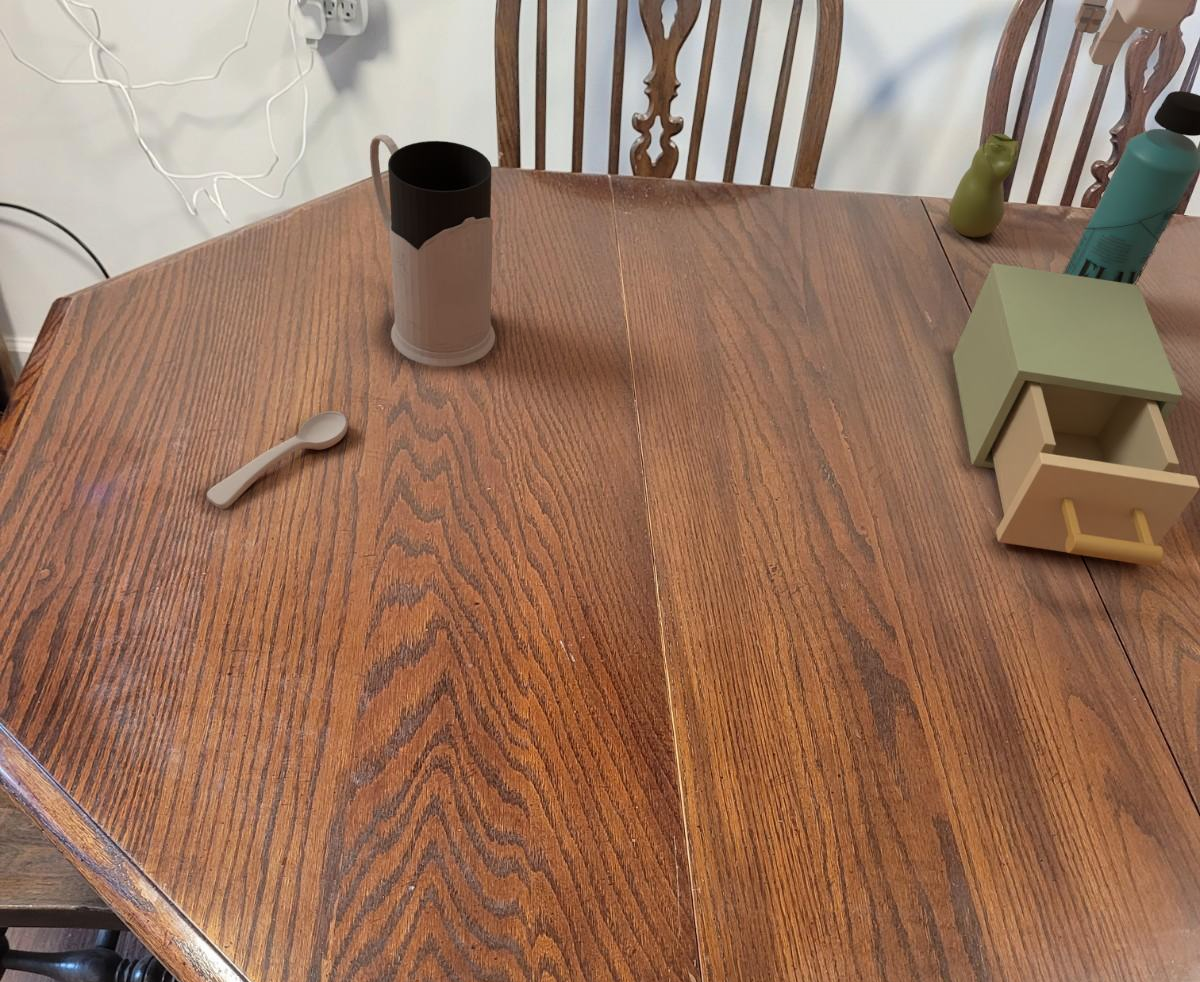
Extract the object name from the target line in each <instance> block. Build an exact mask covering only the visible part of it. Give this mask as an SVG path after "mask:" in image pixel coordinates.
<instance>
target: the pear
mask: <svg viewBox="0 0 1200 982" xmlns="http://www.w3.org/2000/svg"><path fill="white" fill-rule="evenodd" d="M1018 153H1019V141H1018V140H1014V139H1012V138H1011V137H1010V136H1008V135H1006V134H1005V133H992V134H991V135H989V137H988V139H987V141H986V142H984V143H983V144H981V146H980V147H979V148H978V149H977V150H976V152H975V153H974V155H973V158H972V160H971V164H970V166H969V168H968V169H967V170H966V172H964V174H963V176H962V177H961V178H960V181H959V182H958V185H957V187H956V190H955V192H954V194H953V196H952V199H951V201H950V204H949V210H948V218H949V222H950V224H951V227H953V229H954V230H955V231H956V232H957V233H958V234H960V235H962V236H965V237H968V238H981V237H984V236H987V235H989V234H991V233H992V232H993V231H994V230H995V229H997V227H998V226H999V224H1000V223H1001V222H1002V220H1003V217H1004V214H1005V210H1006V209H1005V196H1004V195H1005V194H1004V181H1005V180H1006V179H1008V177H1009V175H1011V173H1012V171H1013V169H1014V166H1015V164H1016V160H1017V158H1018Z"/></svg>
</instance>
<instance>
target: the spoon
mask: <svg viewBox="0 0 1200 982" xmlns="http://www.w3.org/2000/svg"><path fill="white" fill-rule="evenodd" d="M348 427H349V423H348V420H347V418H346V416H345V415H344V414H343V413H341V412H339V411H334V410H333V411H331V410H330V411H324V412H323V411H322V412H320V413H316V414H315V415H313V416H311V417H309V418H307V419H306V420H305V421H304V422H303V423H302V424H301V426H300V428H299V429H298V432H297V433H296V434H295V435H293V436H292V437H289V438H288V439H286V440H285V441H283V442H281V443H279V444H277V445H275V446H273V447H272V448H270V449H268V450H266V451H264V452H262V453H260V454H259V455H258V456H256V457H255V458H253V459H252V460H250V461H249V462H248V463H246V464H245V465H243V466H242V467H240V468H239V469H237V470H236V471H234V472H233V473H232V474H230V475H228V476H227V477H225V478H224V479H222V480H221V481H220V482H218V483H216V484H215V485H213V486H212V487H211V488H210V489H208V491H207V492H206V497H207V500H208V501H209V503H211V504H212V505H213V506H214V507H216V508H218V509H220V510H226V509H228V508H230V507H231V506H232V505H233V504H234V503H235V502H236V501H237V500H238V499H239V498H240V497H241V496H242V495H243V494H244V493H245V492H246V491H247V490H248V488H250V487H251V486H252V485H253V484H254V483H255V482H256V481H257V480H258V479H259V478H261V477H262V476H263V475H264V474H265V473H266V472H267V471H268V470H270V469H271V468H273V467H274V466H275V465H276V464H277V463H279V462H280V461H281V460H283V459H284V458H286V457H287V456H289V455H291V454H293V453H294V452H297V451H300V450H304V449H308V450H309V449H310V450H318V451H319V450H326V449H328V448H331V447H333V446H334V445H336V444H337V443H339V442H341V440H342V439H343V438H344V437H345V435H346V433H347V432H348Z"/></svg>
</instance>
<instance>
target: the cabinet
mask: <svg viewBox="0 0 1200 982" xmlns="http://www.w3.org/2000/svg"><path fill="white" fill-rule="evenodd" d="M952 361H953V366H954V371H955V377H956V383H957V389H958V394H959V400H960V406H961V411H962V417H963V423H964V428H965V433H966V438H967V445H968V451H969V457H970V462H971V466H974V467H980V468H986V469H987V468H988V469H993V470H995V466H994V461H993V456H992V451H991V447H992V445H993V443H994V441H995V439H996V437H997V435H998V433H999V431H1000V429H1001V427H1002V425H1003V423H1004V421H1005V419H1006V417H1007V415H1008V413H1009V411H1010V409H1011V407H1012V405H1013V404H1014V402H1015V400H1016V398H1017V396H1018V394H1019V392H1020V390H1021V388H1022V386H1023V384H1024V382H1025V380H1027V381H1034V382H1040V383H1047V384H1053V385H1060V386H1066V387H1073V388H1079V389H1086V390H1092V391H1099V392H1105V393H1112V394H1118V395H1125V396H1131V397H1138V398H1144V399H1151V400H1156V402H1157V405H1158V408H1159V410H1160V413H1161V416H1162V418H1163V421H1164V424H1165V423H1166V421H1167V420H1168V418H1169V417H1170V415H1171V414H1172V412H1173V411H1174V409H1175V408H1176V406H1177V405H1178V403H1179V402H1180V401H1181V399H1182V397H1183V393H1182V391H1181V388H1180V385H1179V383H1178V380H1177V378H1176V376H1175V373H1174V371H1173V367H1172V365H1171V363H1170V361H1169V358H1168V355H1167V353H1166V350H1165V348H1164V345H1163V343H1162V340H1161V338H1160V335H1159V332H1158V330H1157V327H1156V325H1155V323H1154V320H1153V318H1152V316H1151V313H1150V310H1149V308H1148V305H1147V303H1146V301H1145V298H1144V295H1143V293H1142V290H1141V288H1140V286H1139V284H1136V285H1135V283H1134V284H1127V283H1121V282H1114V281H1107V280H1101V279H1094V278H1088V277H1081V276H1075V275H1068V274H1063V272H1056V271H1055V272H1054V271H1047V270H1042V269H1035V268H1028V267H1022V266H1015V265H1009V264H1003V263H997V262H993V263H992V264H991V267H990V269H989V272H988V274H987V276H986V279H985V281H984V283H983V286H982V288H981V290H980V292H979V295H978V296H977V300H976V302H975V304H974V306H973V309H972V311H971V313H970V315H969V318H968V320H967V323H966V325H965V327H964V329H963V332H962V334H961V335H960V339H959V341H958V343H957V346H956V348H955V351H954V352H953V355H952Z"/></svg>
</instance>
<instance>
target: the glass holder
mask: <svg viewBox="0 0 1200 982" xmlns="http://www.w3.org/2000/svg"><path fill="white" fill-rule="evenodd" d="M381 142H382V143H383V144H384V145H385V146H386V148H387V149H388V152H389V153H390V157H389V159H388V162H387V169H388V187H389V188H388V190H389V204H390V205H389V206H390V209H389V206H388V202H387V199H386V195H385V191H384V187H383V186H384V185H383V181H382V175H381V168H380V144H381ZM369 162H370V170H371V179H372V182H373V189H374V194H375V197H376V202H377V205H378V208H379V213H380V215H381V220H382V221H383V225H384V227H385V229H386V232H387V234H388V236H389V245H390V246H389V247H390V261H391V281H392V295H393V311H394V323H393V325H392V328H391V332H390V338H391V342H392V344H393V346H394V347H395V348H396V349H397V351H398V352H399V353H400V354H401V355H403V356H404V357H406V358H408V359H409V360H412V361H414V362H416V363H420V364H422V365H426V366H432V367H441V368H442V367H443V368H444V367H445V368H448V367H458V366H463V365H464V366H465V365H467V364H470V363H474V362H475V361H478V360H480V359H482V358H483V357H484V356H486V355H487V354H488V353H489V352H490V351H491V350H492V348H493V346H494V344H495V341H496V333H495V329H494V327H493V325H492V321H491V319H492V318H491V317H492V316H491V315H492V278H493V277H492V276H493V275H492V274H493V234H494V233H493V229H494V228H493V227H494V221H493V219H492V217H491V214H492V212H491V211H492V163H491V161H490V160H489V159H488V157H487V156H485V155H484V154H483V153H482V152H480V151H479V150H477V149H476V148H473V147H471V146H468V145H465V144H462V143H457V142H453V141H447V140H446V141H445V140H427V141H419V142H414V143H410V144H407V145H405V146H402V147H400V148H399V147H398V145H397V143H396V142H395V141H394V140H393V138H392V137H390V136H389V135H388V134H377V135H375V136H374V137H373V138H372V139H371V141H370V145H369Z"/></svg>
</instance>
